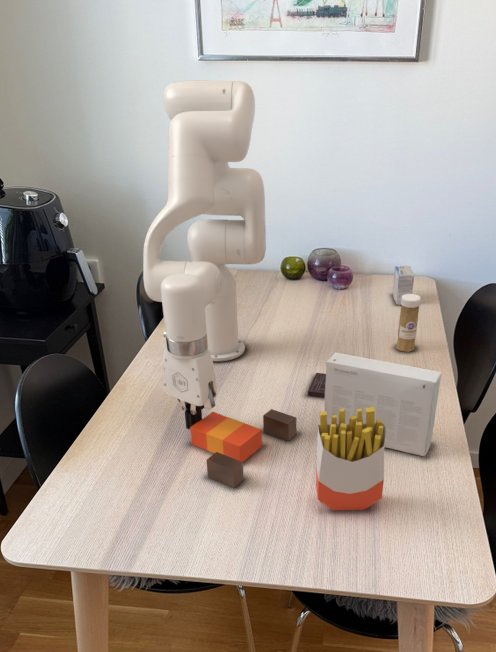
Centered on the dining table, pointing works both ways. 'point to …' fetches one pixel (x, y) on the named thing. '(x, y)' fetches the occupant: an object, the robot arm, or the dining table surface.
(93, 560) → the dining table surface
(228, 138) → the robot arm
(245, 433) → the orange packet
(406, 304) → the sprinkles bottle
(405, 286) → the medicine box
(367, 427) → the french fries container
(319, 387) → the chocolate bar
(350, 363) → the skincare box
